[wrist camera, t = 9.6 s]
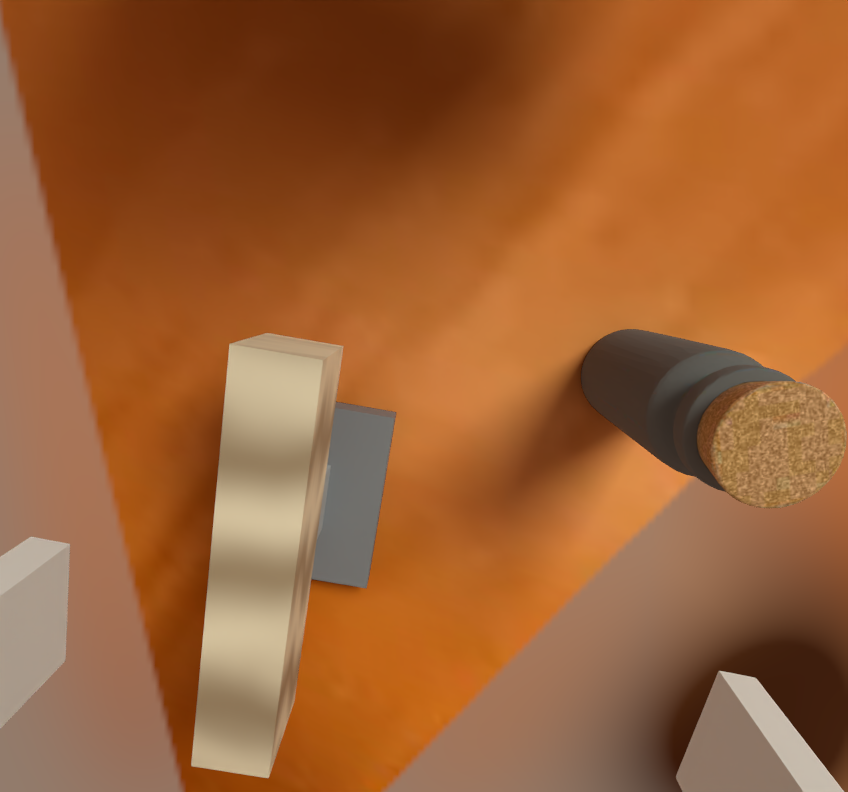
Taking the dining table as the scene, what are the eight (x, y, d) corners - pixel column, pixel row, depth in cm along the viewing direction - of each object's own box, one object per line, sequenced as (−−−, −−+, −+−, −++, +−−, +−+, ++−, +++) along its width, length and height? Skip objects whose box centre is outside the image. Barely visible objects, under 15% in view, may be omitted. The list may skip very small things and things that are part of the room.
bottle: (571, 412, 33) (678, 512, 19) (589, 322, 32) (720, 354, 18) (660, 424, 34) (836, 534, 19) (682, 335, 32) (889, 377, 18)
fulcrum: (244, 385, 33) (203, 407, 28) (396, 412, 34) (388, 439, 28) (227, 552, 36) (187, 604, 30) (369, 575, 36) (356, 632, 30)
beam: (294, 701, 31) (268, 778, 27) (229, 690, 31) (191, 766, 26) (343, 346, 27) (323, 360, 22) (267, 332, 27) (229, 343, 22)
